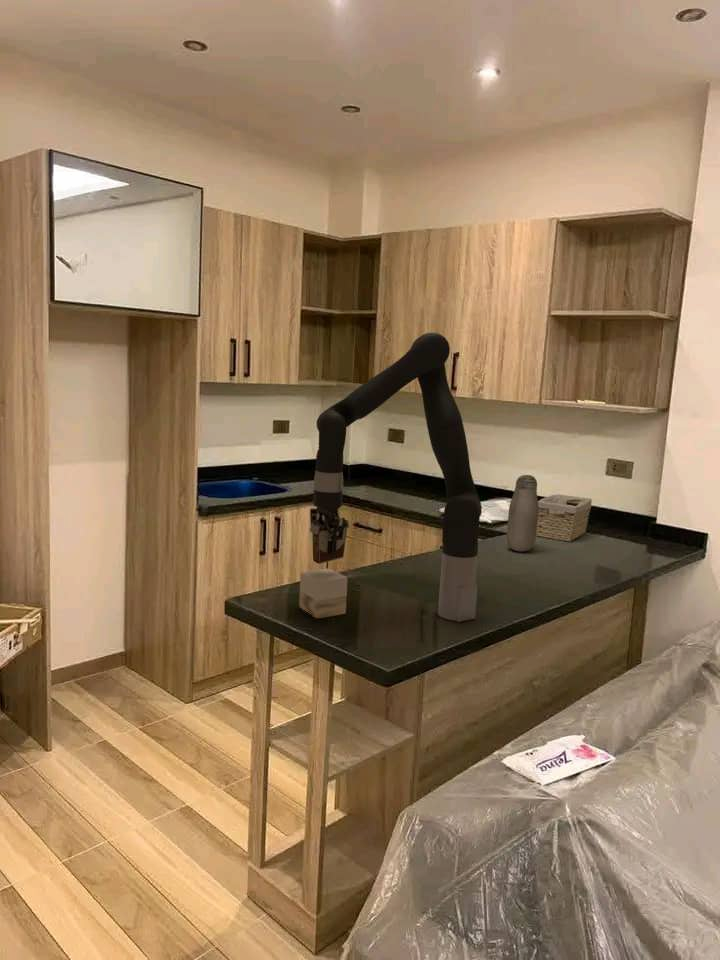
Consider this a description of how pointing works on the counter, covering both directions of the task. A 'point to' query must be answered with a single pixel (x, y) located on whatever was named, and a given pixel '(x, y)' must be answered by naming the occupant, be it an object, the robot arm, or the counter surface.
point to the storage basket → (563, 517)
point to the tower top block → (323, 584)
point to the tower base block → (322, 606)
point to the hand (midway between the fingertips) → (325, 551)
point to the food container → (326, 543)
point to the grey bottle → (523, 514)
